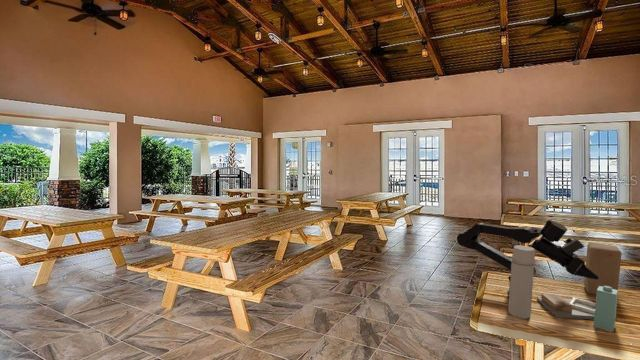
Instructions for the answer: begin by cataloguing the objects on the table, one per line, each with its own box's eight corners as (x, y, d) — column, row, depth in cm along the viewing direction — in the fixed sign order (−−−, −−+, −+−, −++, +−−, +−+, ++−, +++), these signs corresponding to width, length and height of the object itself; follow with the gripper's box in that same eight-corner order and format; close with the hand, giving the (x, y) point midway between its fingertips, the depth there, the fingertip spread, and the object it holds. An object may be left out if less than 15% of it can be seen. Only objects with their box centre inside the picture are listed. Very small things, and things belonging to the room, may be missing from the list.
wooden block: (617, 299, 138) (622, 251, 136) (586, 294, 143) (590, 247, 141) (612, 291, 147) (617, 245, 145) (583, 285, 152) (587, 241, 150)
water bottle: (534, 321, 120) (539, 252, 118) (509, 318, 123) (513, 249, 120) (527, 309, 129) (531, 244, 127) (503, 306, 131) (507, 242, 129)
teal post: (593, 326, 117) (597, 287, 116) (595, 321, 121) (599, 283, 119) (612, 332, 114) (616, 291, 112) (614, 326, 117) (618, 287, 116)
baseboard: (557, 317, 123) (557, 310, 123) (537, 299, 137) (537, 294, 137) (616, 320, 121) (617, 314, 121) (589, 302, 135) (590, 296, 135)
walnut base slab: (554, 310, 126) (554, 304, 126) (541, 299, 135) (541, 293, 134) (571, 311, 125) (572, 305, 125) (557, 300, 134) (558, 294, 134)
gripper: (567, 235, 122) (616, 262, 115) (560, 230, 139) (602, 254, 132) (548, 260, 124) (595, 288, 118) (543, 253, 141) (584, 277, 134)
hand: (595, 275), depth 125 cm, fingers open, 9 cm apart
